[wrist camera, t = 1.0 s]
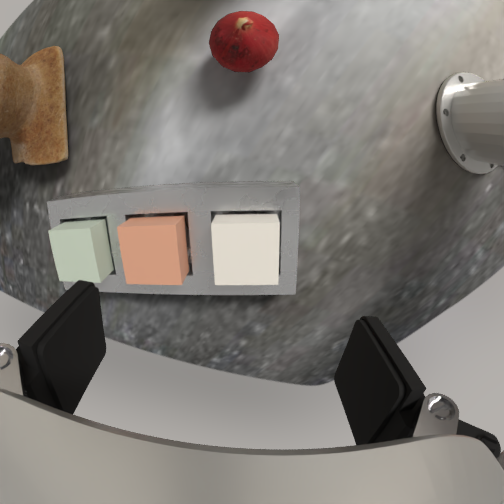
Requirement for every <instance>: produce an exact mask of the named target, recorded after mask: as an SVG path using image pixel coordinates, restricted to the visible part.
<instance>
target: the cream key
mask: <svg viewBox="0 0 504 504" xmlns="http://www.w3.org/2000/svg"><path fill="white" fill-rule="evenodd" d="M211 231H212V248H213V264H214V278H215V285H278V279H279V236H280V222H279V219H278V216H277V214H228V215H216V216H215V218H214V219H213V221H212V223H211Z"/></svg>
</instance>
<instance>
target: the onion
mask: <svg viewBox="0 0 504 504" xmlns="http://www.w3.org/2000/svg"><path fill="white" fill-rule="evenodd" d="M278 42H279V34H278V32H277V30H276V28H275V26H274V24H273V23H271V22H270V21H269V20H268V19H267V18H266V17H264V16H262V15H260V14H257V13H255V12H249V11H239V12H235V13H231V14H228V15H226V16H225V17H223V18H222V19H220V20H219V21H218V22H217V23H216V25H215V26H214V28H213V29H212V31H211V35H210V40H209V45H210V49H211V52H212V55H213V57H214V58H215V59H216V60H217V61H218V62H219V63H220V64H221V65H222V66H223V67H225V68H227V69H230V70H232V71H234V72H251V71H253V70H256V69H259V68H261V67H263V66H264V65H265V64H267V63H268V62H269V61H270V60H272V59H273V57H274V55H275V53H276V51H277V50H278Z"/></svg>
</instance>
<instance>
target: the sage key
mask: <svg viewBox="0 0 504 504" xmlns="http://www.w3.org/2000/svg"><path fill="white" fill-rule="evenodd" d="M48 232H49V237H50V242H51V247H52V251H53V256H54V260H55V264H56V269H57V272H58V276H59V280H60V281H69V282H77V281H78V280H83V281H88V282H93V283H101V282H102V281H103V280H104V279H105V278H106V277H107V276H108V275H109V274H110V273H111V272H112V271H113V270H114V268H113V263H112V258H111V252H110V247H109V241H108V234H107V228H106V221H105V219H102V220H87V221H73V222H64V223H62V224H60V225H58V226H56V227H54V228H53V229H51V230H49V231H48Z"/></svg>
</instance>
